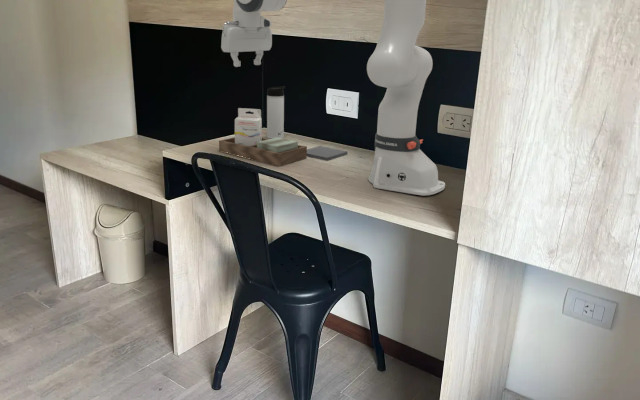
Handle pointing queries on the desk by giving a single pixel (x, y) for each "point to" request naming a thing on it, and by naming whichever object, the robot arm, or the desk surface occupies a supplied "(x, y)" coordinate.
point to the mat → (325, 153)
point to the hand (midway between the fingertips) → (247, 65)
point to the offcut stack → (277, 145)
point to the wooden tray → (263, 152)
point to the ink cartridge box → (248, 127)
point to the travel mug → (275, 112)
